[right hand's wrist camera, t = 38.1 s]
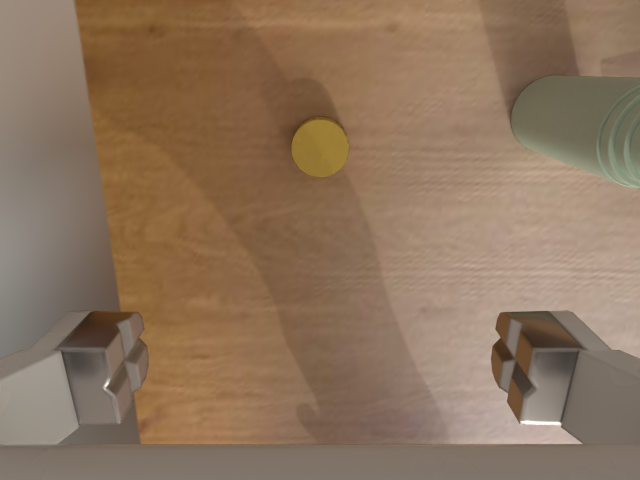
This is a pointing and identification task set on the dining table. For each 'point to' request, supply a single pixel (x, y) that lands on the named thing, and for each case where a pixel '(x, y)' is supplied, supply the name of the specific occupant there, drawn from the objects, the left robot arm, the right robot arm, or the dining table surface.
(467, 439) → the dining table surface
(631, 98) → the bottle
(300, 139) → the cap
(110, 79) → the dining table surface
